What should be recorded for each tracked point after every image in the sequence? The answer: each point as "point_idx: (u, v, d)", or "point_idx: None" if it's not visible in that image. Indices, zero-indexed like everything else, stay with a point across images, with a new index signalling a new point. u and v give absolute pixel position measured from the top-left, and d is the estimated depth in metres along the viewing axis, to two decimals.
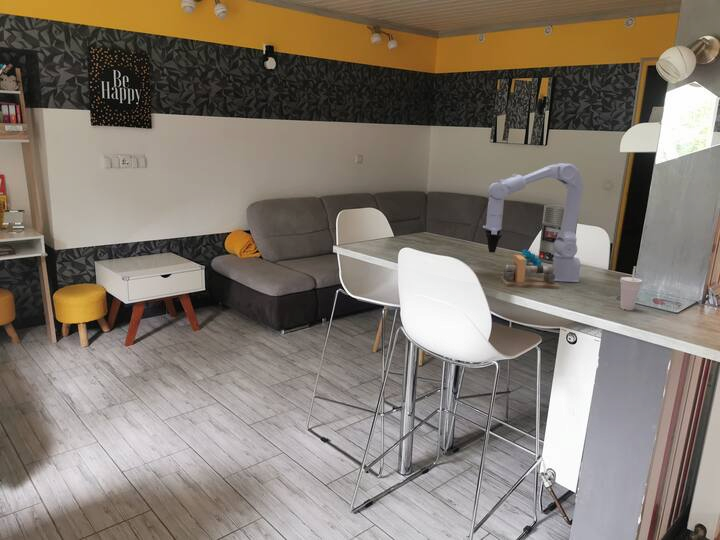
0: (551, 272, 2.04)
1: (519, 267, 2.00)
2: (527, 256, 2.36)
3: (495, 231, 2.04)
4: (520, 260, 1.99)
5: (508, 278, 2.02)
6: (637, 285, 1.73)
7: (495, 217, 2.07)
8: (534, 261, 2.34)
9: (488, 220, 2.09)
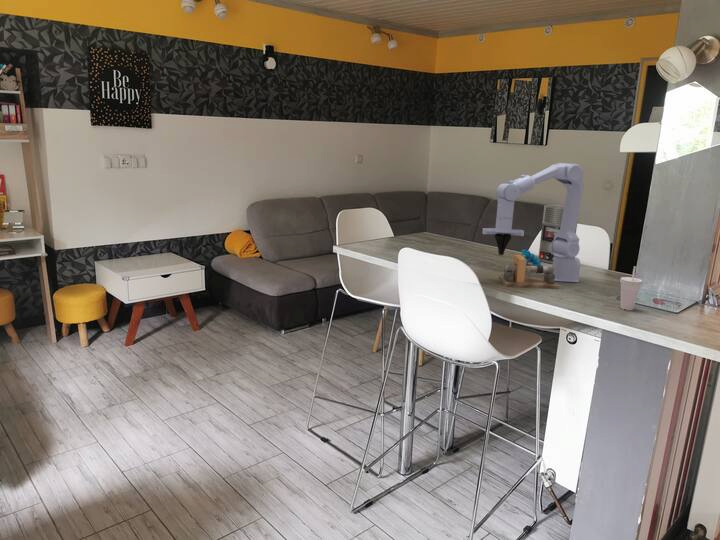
0: (551, 272, 2.04)
1: (519, 267, 2.00)
2: (527, 256, 2.36)
3: (483, 230, 2.01)
4: (520, 260, 1.99)
5: (508, 278, 2.02)
6: (637, 285, 1.73)
7: (496, 218, 2.01)
8: (534, 261, 2.34)
9: None
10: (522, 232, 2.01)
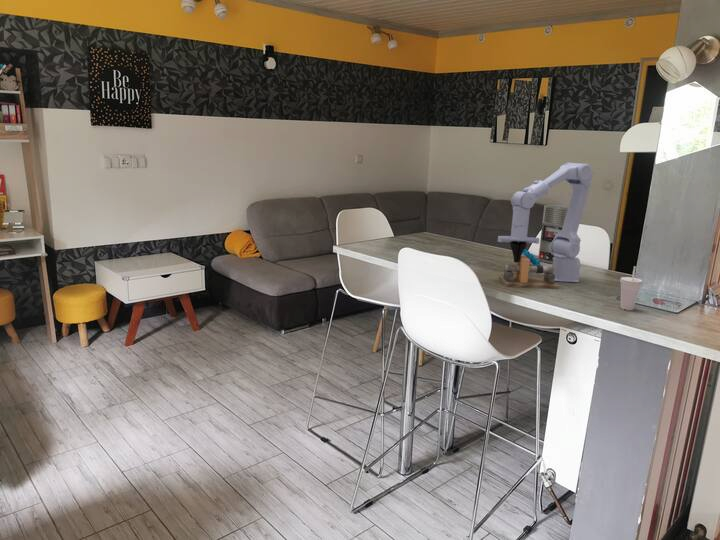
0: (551, 272, 2.04)
1: (522, 267, 2.00)
2: (526, 256, 2.36)
3: (498, 238, 2.02)
4: (523, 260, 1.99)
5: (508, 278, 2.02)
6: (637, 285, 1.73)
7: None
8: (533, 261, 2.34)
9: None
10: (537, 240, 2.01)
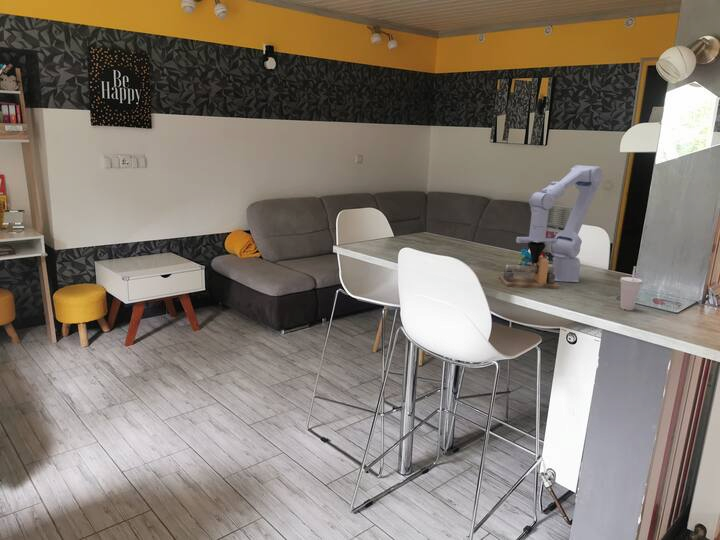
0: (551, 272, 2.04)
1: (541, 268, 2.00)
2: (526, 256, 2.36)
3: (517, 239, 2.01)
4: (542, 261, 1.99)
5: (508, 278, 2.02)
6: (637, 285, 1.73)
7: (530, 227, 2.01)
8: None
9: None
10: (556, 240, 2.01)
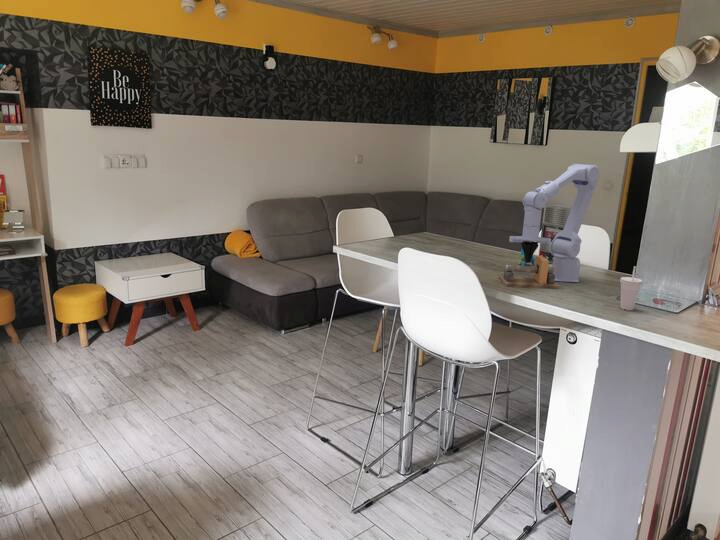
0: (551, 272, 2.04)
1: (541, 268, 2.00)
2: None
3: (510, 238, 2.02)
4: (542, 261, 1.99)
5: (508, 278, 2.02)
6: (637, 285, 1.73)
7: (523, 226, 2.01)
8: (532, 261, 2.34)
9: None
10: (549, 240, 2.01)
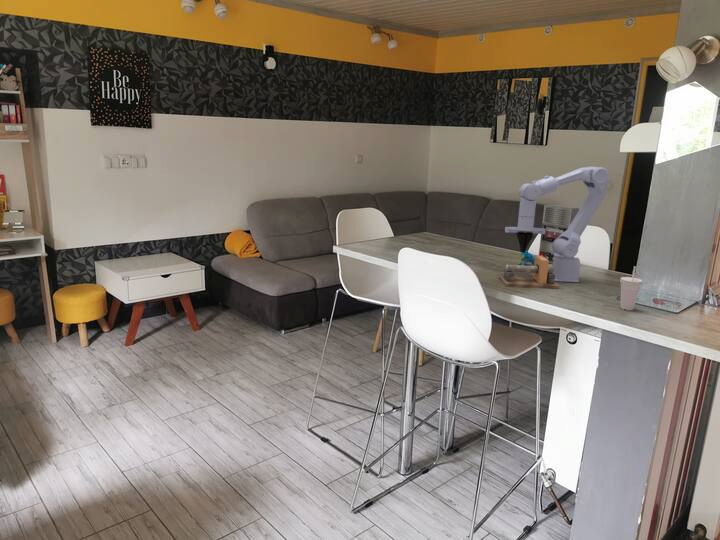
0: (551, 272, 2.04)
1: (541, 268, 2.00)
2: (526, 256, 2.36)
3: (506, 229, 2.08)
4: (542, 261, 1.99)
5: (508, 278, 2.02)
6: (637, 285, 1.73)
7: (518, 217, 2.07)
8: (532, 261, 2.34)
9: None
10: (543, 230, 2.07)
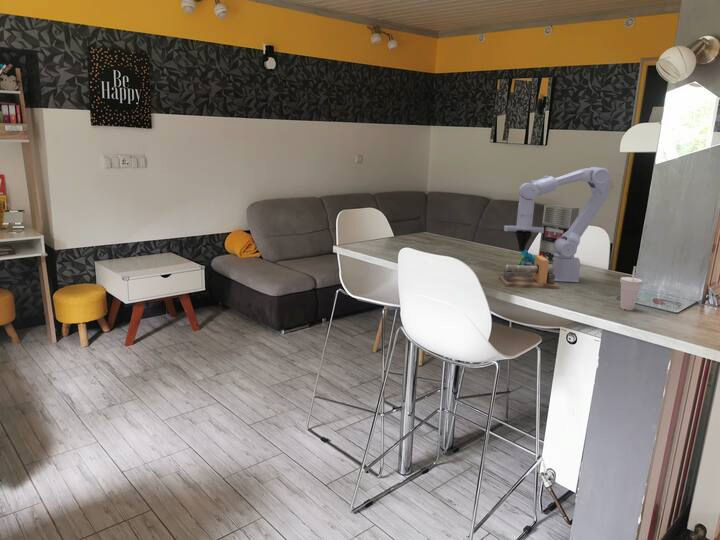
0: (551, 272, 2.04)
1: (541, 268, 2.00)
2: (525, 256, 2.36)
3: (504, 228, 2.11)
4: (542, 261, 1.99)
5: (508, 278, 2.02)
6: (637, 285, 1.73)
7: (517, 216, 2.10)
8: (532, 261, 2.34)
9: None
10: (542, 229, 2.10)
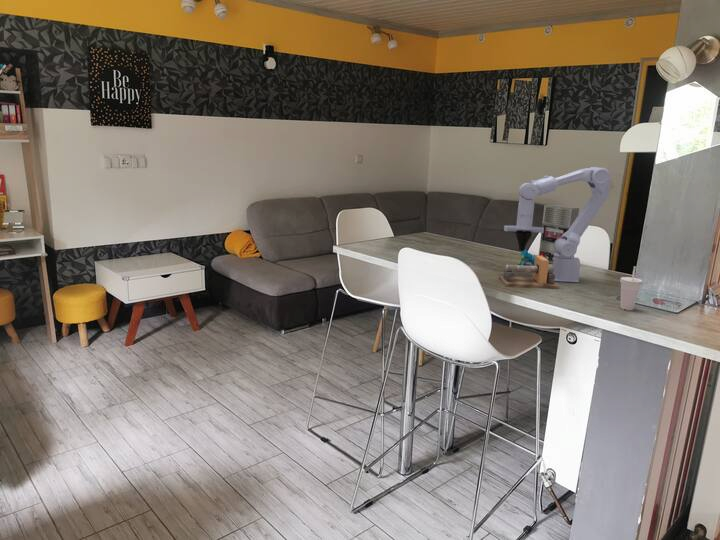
0: (551, 272, 2.04)
1: (541, 268, 2.00)
2: (525, 256, 2.36)
3: (504, 228, 2.11)
4: (542, 261, 1.99)
5: (508, 278, 2.02)
6: (637, 285, 1.73)
7: (517, 216, 2.10)
8: (532, 261, 2.34)
9: None
10: (542, 229, 2.10)
